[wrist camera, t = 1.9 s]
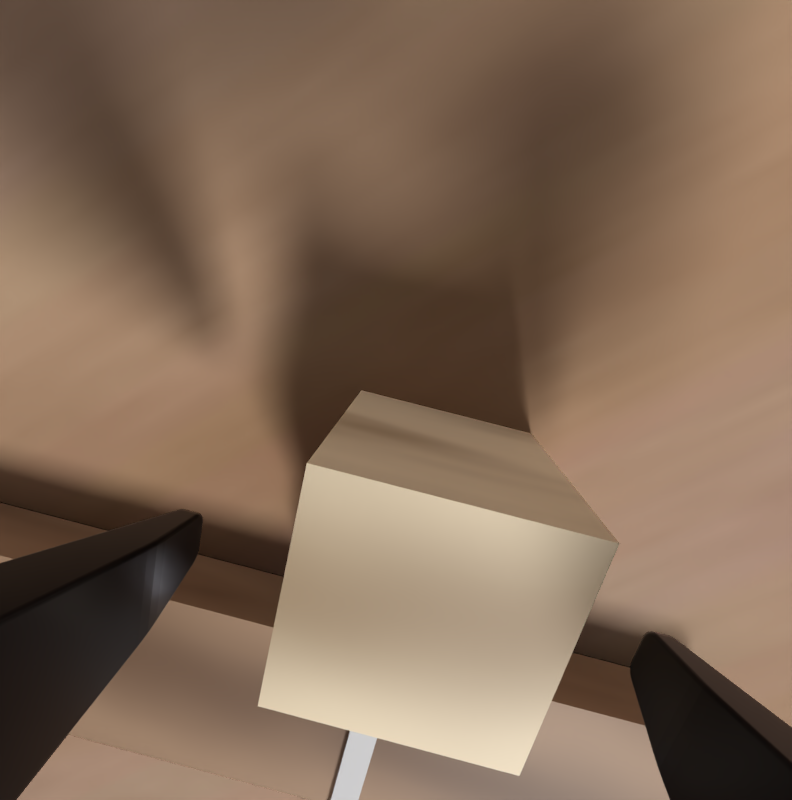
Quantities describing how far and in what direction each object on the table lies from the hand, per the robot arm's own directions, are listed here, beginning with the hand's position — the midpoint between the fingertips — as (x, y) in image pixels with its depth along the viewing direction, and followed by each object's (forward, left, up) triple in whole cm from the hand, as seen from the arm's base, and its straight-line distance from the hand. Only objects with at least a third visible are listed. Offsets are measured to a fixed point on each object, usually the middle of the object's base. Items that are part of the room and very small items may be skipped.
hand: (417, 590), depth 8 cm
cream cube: (0, 0, -4) cm, 4 cm away
